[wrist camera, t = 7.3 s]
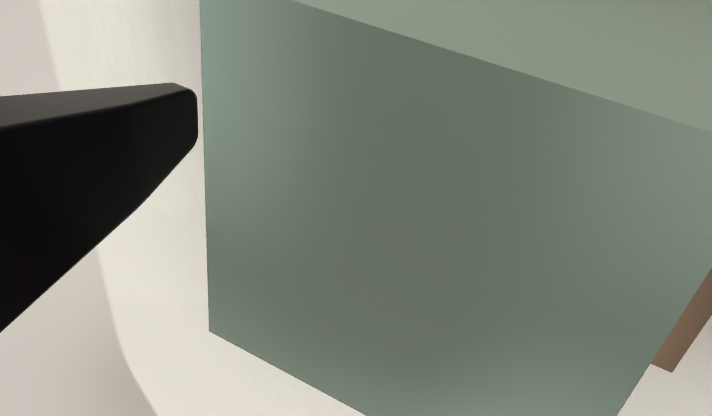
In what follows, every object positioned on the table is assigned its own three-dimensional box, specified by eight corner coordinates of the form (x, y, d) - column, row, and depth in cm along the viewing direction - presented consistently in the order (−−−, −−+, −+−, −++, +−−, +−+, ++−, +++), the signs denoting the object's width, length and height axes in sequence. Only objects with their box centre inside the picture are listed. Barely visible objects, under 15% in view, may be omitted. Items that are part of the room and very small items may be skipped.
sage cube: (764, -10, 9) (784, 154, 5) (617, 273, 13) (552, 515, 9) (411, -95, 11) (198, -29, 7) (367, 174, 15) (209, 331, 10)
